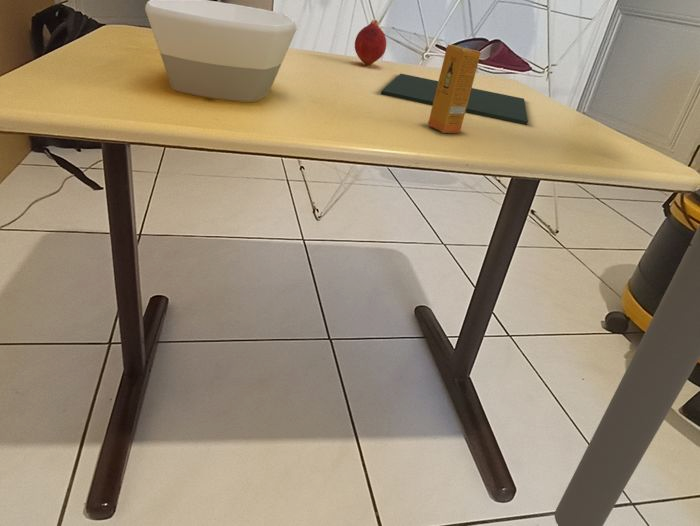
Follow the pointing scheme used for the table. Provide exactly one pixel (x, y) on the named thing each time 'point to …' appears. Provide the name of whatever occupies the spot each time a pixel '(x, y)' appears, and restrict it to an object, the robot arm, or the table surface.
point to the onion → (370, 43)
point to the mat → (477, 102)
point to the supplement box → (453, 89)
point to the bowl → (220, 47)
